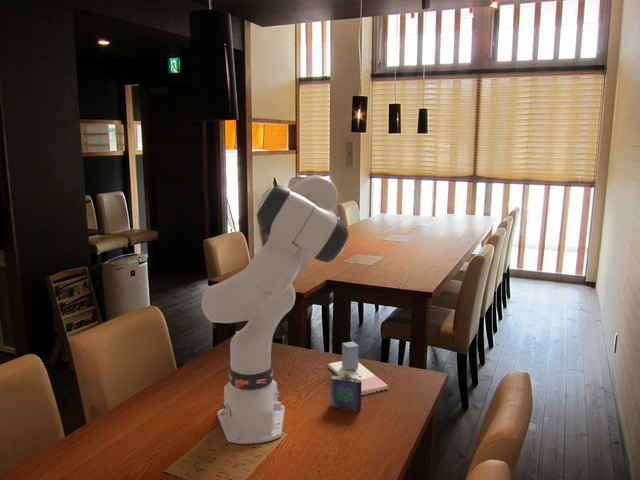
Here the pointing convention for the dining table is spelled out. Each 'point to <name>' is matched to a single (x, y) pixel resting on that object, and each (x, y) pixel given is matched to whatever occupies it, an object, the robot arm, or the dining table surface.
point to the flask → (345, 392)
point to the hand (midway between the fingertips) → (300, 269)
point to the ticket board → (360, 377)
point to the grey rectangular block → (350, 355)
